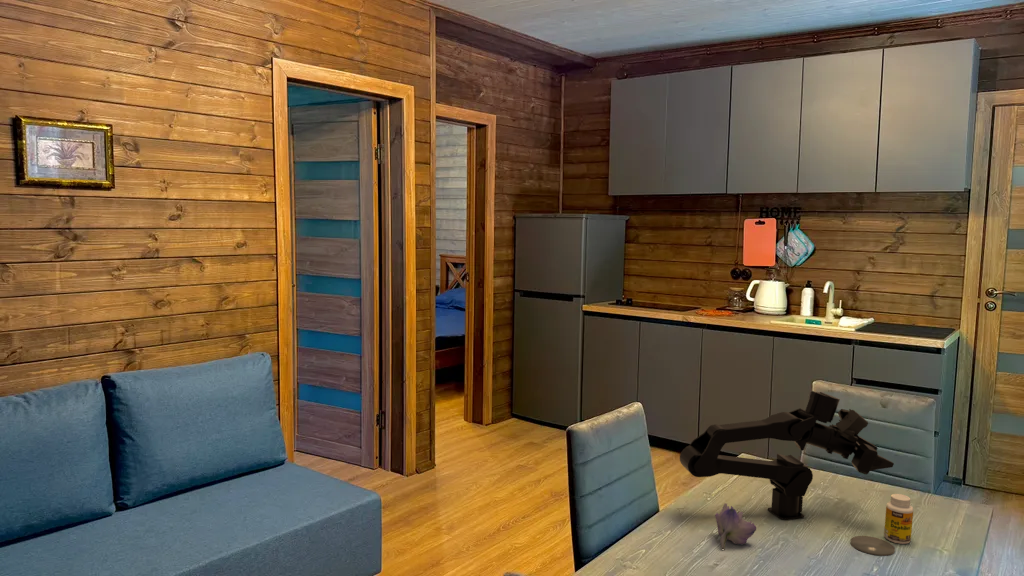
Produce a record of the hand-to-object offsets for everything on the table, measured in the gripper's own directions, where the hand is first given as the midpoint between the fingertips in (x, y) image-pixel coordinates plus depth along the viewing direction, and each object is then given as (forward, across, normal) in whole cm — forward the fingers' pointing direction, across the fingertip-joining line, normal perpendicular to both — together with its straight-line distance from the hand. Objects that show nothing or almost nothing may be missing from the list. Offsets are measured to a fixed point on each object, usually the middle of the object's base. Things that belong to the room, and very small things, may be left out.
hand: (884, 457), depth 181 cm
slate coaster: (-5, -20, +15) cm, 25 cm away
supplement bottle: (+2, -15, +14) cm, 21 cm away
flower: (-36, -21, +25) cm, 48 cm away
